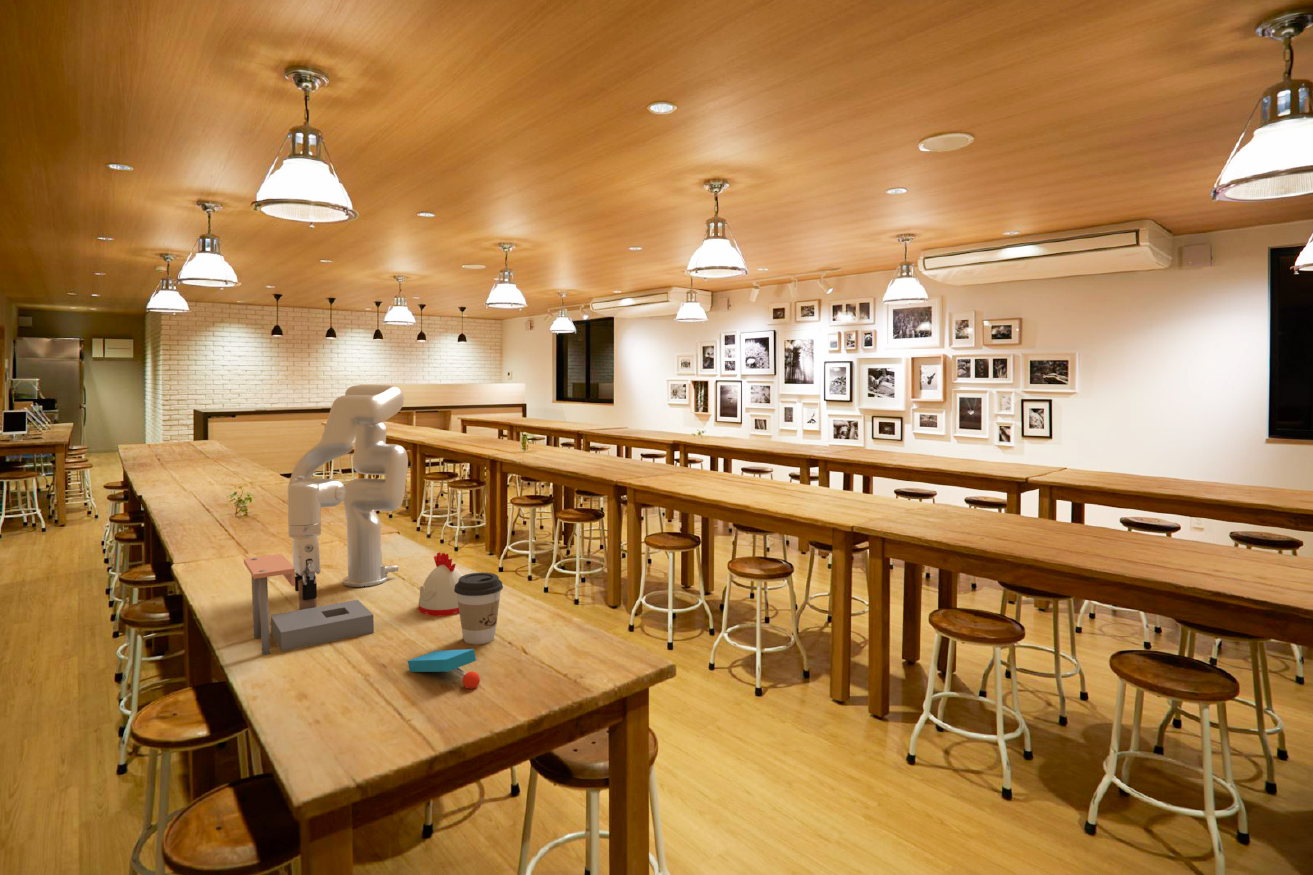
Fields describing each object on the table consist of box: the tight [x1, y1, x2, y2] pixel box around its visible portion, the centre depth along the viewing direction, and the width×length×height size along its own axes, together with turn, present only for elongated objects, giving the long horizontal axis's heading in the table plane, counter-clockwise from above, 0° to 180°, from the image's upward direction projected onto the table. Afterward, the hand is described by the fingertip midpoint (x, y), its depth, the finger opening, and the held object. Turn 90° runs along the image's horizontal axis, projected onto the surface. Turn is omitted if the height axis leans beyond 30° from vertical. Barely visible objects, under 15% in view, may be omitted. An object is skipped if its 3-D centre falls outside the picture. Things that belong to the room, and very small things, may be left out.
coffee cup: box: [454, 571, 504, 646], centre depth 163 cm, size 11×11×15 cm
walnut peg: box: [298, 578, 317, 610], centre depth 179 cm, size 4×4×9 cm
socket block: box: [270, 599, 375, 652], centre depth 166 cm, size 20×14×4 cm
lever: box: [407, 648, 481, 690], centre depth 142 cm, size 7×7×18 cm
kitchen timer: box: [418, 551, 464, 617], centre depth 185 cm, size 14×14×15 cm
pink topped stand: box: [243, 553, 295, 656], centre depth 158 cm, size 8×16×19 cm, turn 38°
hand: (305, 594), depth 178 cm, fingers open, 9 cm apart
